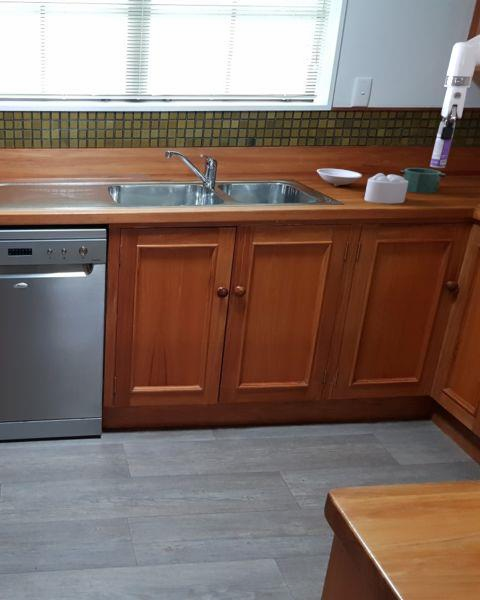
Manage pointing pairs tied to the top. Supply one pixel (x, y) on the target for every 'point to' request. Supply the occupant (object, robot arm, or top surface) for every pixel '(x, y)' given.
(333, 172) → the dish
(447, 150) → the container
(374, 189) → the lumpy-topped squat cylinder
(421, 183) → the pot
